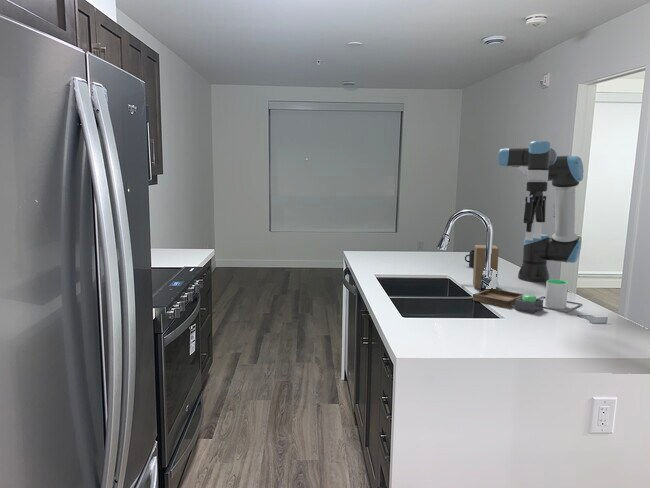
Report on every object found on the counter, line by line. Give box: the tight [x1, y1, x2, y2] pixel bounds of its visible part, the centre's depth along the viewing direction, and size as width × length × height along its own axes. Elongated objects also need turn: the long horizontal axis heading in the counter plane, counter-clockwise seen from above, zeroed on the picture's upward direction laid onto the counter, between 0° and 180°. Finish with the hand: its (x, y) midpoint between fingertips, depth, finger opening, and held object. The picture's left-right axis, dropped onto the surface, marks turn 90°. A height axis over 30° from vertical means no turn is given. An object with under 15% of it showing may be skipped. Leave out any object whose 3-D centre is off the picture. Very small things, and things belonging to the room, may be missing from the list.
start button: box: [522, 294, 537, 303], centre depth 200 cm, size 5×5×4 cm
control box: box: [514, 297, 544, 314], centre depth 201 cm, size 8×8×4 cm
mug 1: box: [464, 249, 475, 269], centre depth 289 cm, size 9×12×9 cm
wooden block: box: [472, 244, 500, 290], centre depth 237 cm, size 10×10×20 cm
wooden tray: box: [472, 288, 525, 308], centre depth 214 cm, size 16×16×3 cm
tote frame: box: [536, 296, 583, 313], centre depth 208 cm, size 17×17×1 cm
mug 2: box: [544, 279, 569, 310], centre depth 207 cm, size 12×8×10 cm, turn 174°
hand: (533, 239), depth 197 cm, fingers open, 7 cm apart
